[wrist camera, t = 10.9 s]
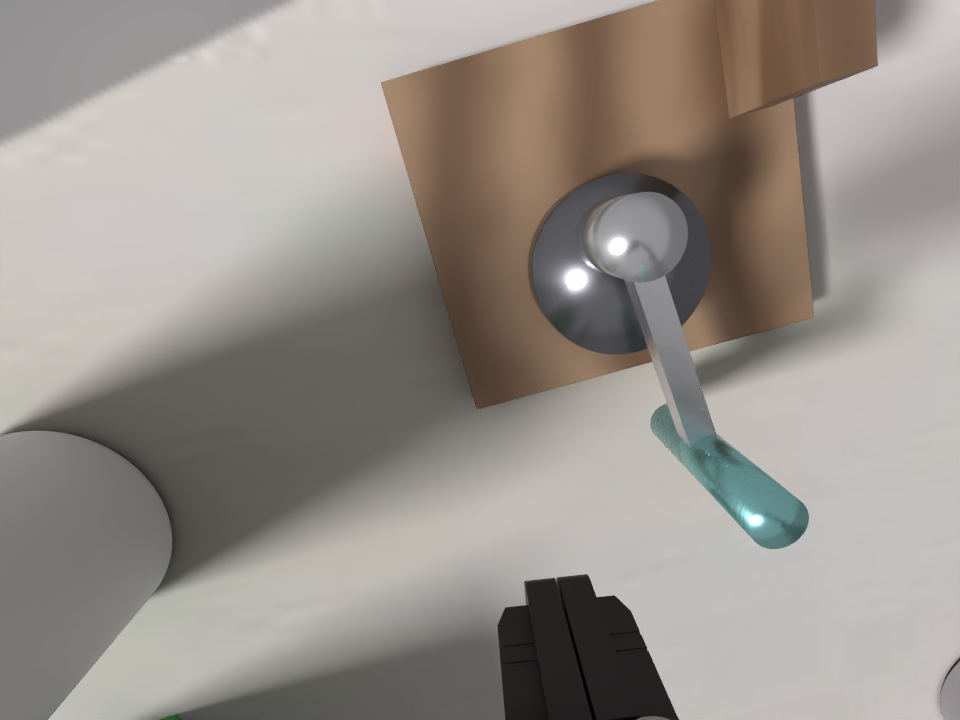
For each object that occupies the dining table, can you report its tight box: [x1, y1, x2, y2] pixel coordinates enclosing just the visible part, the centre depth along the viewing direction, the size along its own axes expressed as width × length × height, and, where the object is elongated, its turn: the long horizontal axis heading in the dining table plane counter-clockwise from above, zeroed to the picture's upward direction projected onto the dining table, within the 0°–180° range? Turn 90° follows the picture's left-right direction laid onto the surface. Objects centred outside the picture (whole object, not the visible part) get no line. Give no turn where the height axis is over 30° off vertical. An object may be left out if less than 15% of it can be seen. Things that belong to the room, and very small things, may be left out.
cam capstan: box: [528, 173, 809, 549], centre depth 20 cm, size 14×8×10 cm, turn 23°
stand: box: [381, 0, 878, 409], centre depth 22 cm, size 18×16×8 cm
